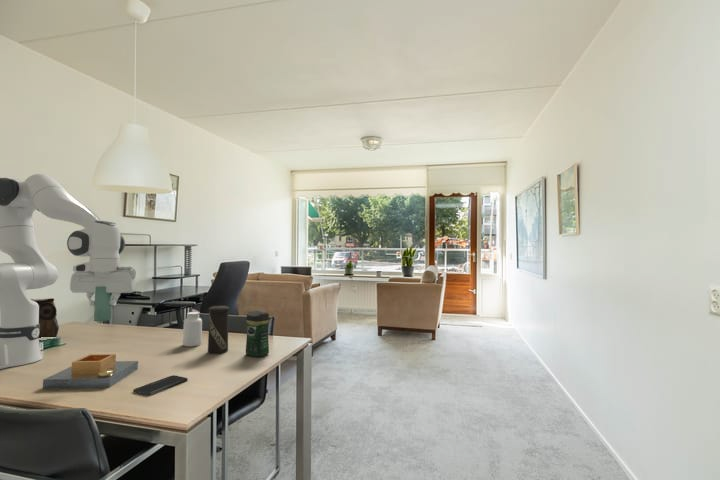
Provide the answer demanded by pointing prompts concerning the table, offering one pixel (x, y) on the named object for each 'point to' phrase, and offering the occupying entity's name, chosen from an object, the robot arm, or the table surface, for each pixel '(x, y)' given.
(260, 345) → the coffee jar
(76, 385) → the wooden box with base
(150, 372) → the table surface
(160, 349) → the table surface
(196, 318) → the pill bottle
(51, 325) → the owl
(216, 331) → the container
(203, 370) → the table surface
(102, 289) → the spout can
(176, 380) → the phone
